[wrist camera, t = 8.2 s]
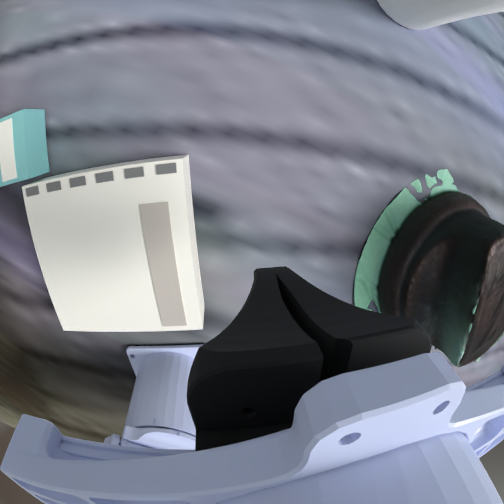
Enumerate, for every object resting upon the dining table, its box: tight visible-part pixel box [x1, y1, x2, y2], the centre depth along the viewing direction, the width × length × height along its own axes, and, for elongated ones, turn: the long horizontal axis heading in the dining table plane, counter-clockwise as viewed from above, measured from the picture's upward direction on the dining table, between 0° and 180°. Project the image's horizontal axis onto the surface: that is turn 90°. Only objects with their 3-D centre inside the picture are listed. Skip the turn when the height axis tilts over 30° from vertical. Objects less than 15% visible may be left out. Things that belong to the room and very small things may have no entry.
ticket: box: [22, 154, 204, 332], centre depth 19 cm, size 12×12×3 cm
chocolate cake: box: [354, 169, 504, 367], centre depth 21 cm, size 20×20×9 cm
